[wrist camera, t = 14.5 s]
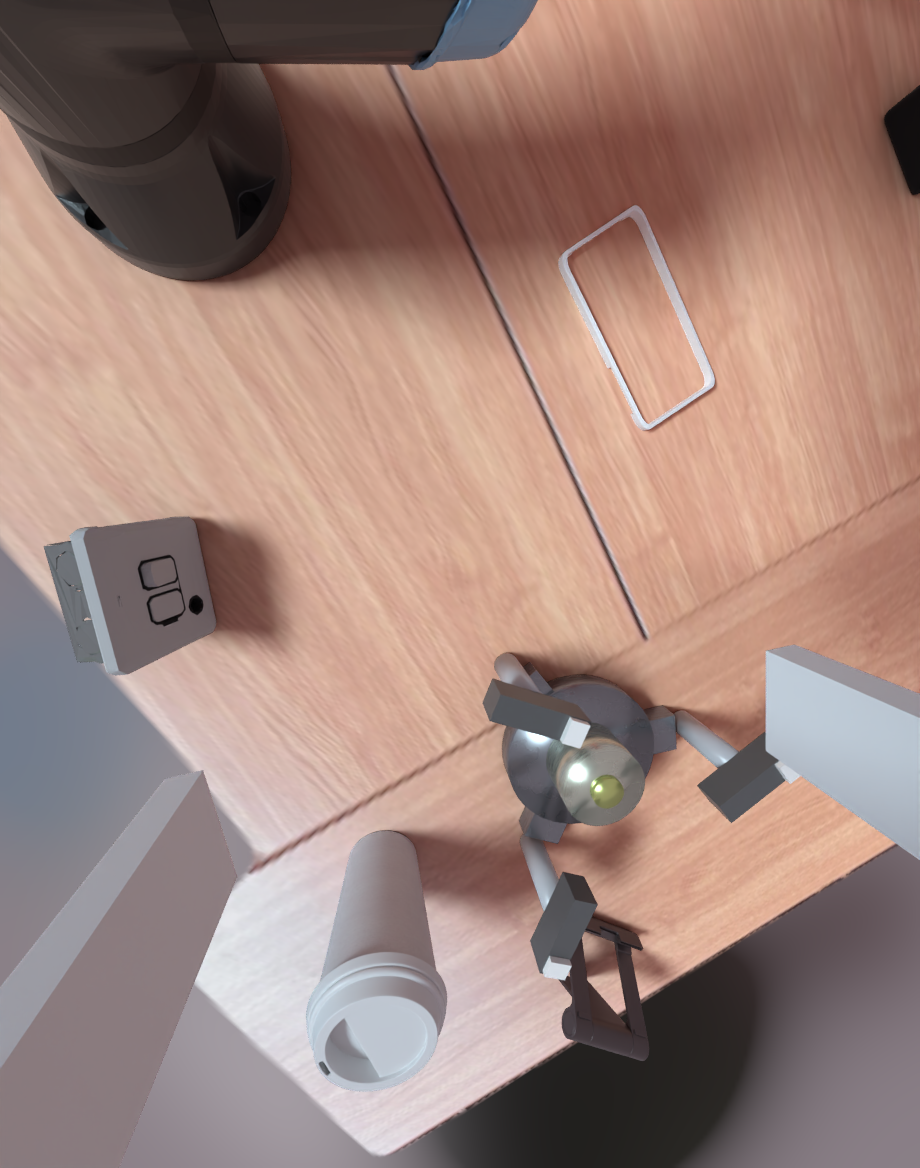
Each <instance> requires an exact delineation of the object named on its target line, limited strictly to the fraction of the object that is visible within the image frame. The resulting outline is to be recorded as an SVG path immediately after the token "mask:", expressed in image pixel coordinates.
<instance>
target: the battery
mask: <svg viewBox="0 0 920 1168" xmlns="http://www.w3.org/2000/svg"><path fill="white" fill-rule="evenodd" d="M884 120H885V124H886V127H887V130H888V132H889V135H890V138H891V140H892V143H893V146H894V148H895V151H896V154H897V156H898V159H899V162H900V164H901V167H902V170H903V172H904V175H905V178H906V180H907V183H908V186H909V188H910V191H911V193H912V194H914V195H917V194H919V193H920V85H919V86H918V87H917V88H916V89H914V90H913V91H912V92H911V93H909V94H908V95H907V96H906V97H905V98H903V99H902V100H901V101H900V102H898V103H897V104H896V105H895V106H893V107H892V108H891V109H890V110H889V111H888V112H887V113H886V115H885V118H884Z"/></svg>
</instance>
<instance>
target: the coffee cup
mask: <svg viewBox="0 0 920 1168" xmlns="http://www.w3.org/2000/svg"><path fill="white" fill-rule="evenodd" d="M446 1006H447V991H446V987H445V984H444V982H443V980H442V978H441V976H440V975H439V973H438V972H437V971H436V966H435V960H434V955H433V949H432V943H431V937H430V931H429V926H428V920H427V914H426V908H425V902H424V896H423V890H422V884H421V878H420V872H419V866H418V860H417V854H416V850H415V847H414V845H413V843H412V842H411V841H410V840H409V839H408V838H407V837H406V836H404V835H402V834H400V833H398V832H394V831H378V832H374V833H371V834H369V835H367V836H365V837H363V838H362V839H360V840H359V841H358V842H357V843H356V844H355V846H354V847H353V849H352V850H351V853H350V856H349V860H348V864H347V868H346V873H345V877H344V881H343V886H342V890H341V894H340V899H339V903H338V907H337V912H336V916H335V920H334V925H333V929H332V933H331V937H330V942H329V946H328V950H327V954H326V959H325V963H324V967H323V971H322V975H321V980H320V983H319V984H318V985H317V986H316V988H315V989H314V991H313V993H312V995H311V997H310V999H309V1002H308V1005H307V1011H306V1022H307V1033H308V1038H309V1042H310V1045H311V1048H312V1050H313V1052H314V1059H315V1063H316V1065H317V1067H318V1069H319V1071H320V1072H321V1074H322V1075H323V1076H324V1077H325V1078H326V1079H327V1080H329V1081H330V1082H331V1083H333V1084H335V1085H337V1086H339V1087H341V1088H344V1089H348V1090H353V1091H377V1090H383V1089H387V1088H390V1087H393V1086H396V1085H398V1084H400V1083H402V1082H404V1081H406V1080H408V1079H410V1078H411V1077H413V1076H414V1075H415V1074H417V1073H418V1072H419V1071H420V1070H421V1069H422V1068H423V1067H424V1066H425V1065H426V1064H427V1062H428V1061H429V1060H430V1058H431V1057H432V1055H433V1053H434V1051H435V1048H436V1045H437V1040H438V1036H439V1034H440V1032H441V1029H442V1026H443V1022H444V1019H445V1014H446Z"/></svg>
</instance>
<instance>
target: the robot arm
mask: <svg viewBox="0 0 920 1168" xmlns="http://www.w3.org/2000/svg"><path fill="white" fill-rule="evenodd" d="M537 1H538V0H0V109H1V110H2V111H3V112H4V113H5V114H6V115H7V117H8V119H9V121H10V122H11V124H12V126H13V127H14V129H15V131H16V133H17V134H18V136H19V138H20V140H21V141H22V143H23V145H24V146H25V148H26V150H27V152H28V153H29V155H30V157H31V158H32V160H33V162H34V164H35V165H36V167H37V169H38V170H39V172H40V174H41V176H42V177H43V179H44V181H45V182H46V184H47V185H48V187H49V188H50V190H51V191H52V192H53V194H54V195H55V197H56V198H57V199H58V200H59V201H60V203H61V204H62V205H63V206H64V208H65V209H66V210H67V211H68V212H69V213H70V214H71V215H72V216H73V217H74V219H75V220H76V221H77V222H79V223H80V224H81V225H82V226H83V227H84V228H85V229H86V230H87V231H89V232H90V233H91V234H92V235H93V236H95V237H96V238H97V239H98V240H99V241H100V242H102V243H103V244H104V245H105V246H106V247H108V248H109V249H110V250H111V251H113V252H114V253H115V254H117V255H118V256H120V257H121V258H123V259H124V260H126V261H128V262H130V263H131V264H133V265H135V266H137V267H139V268H141V269H144V270H146V271H149V272H151V273H154V274H157V275H160V276H164V277H168V278H174V279H181V280H205V279H212V278H216V277H220V276H223V275H227V274H229V273H232V272H234V271H236V270H238V269H240V268H242V267H243V266H245V265H246V264H248V263H249V262H251V261H252V260H253V259H255V258H256V257H257V256H258V255H259V254H260V253H261V252H262V251H263V250H264V249H265V248H266V247H267V245H268V244H269V243H270V241H271V240H272V238H273V237H274V235H275V234H276V232H277V230H278V228H279V226H280V224H281V222H282V219H283V217H284V214H285V211H286V207H287V203H288V198H289V193H290V184H291V163H290V153H289V147H288V142H287V138H286V134H285V130H284V127H283V124H282V120H281V117H280V114H279V111H278V108H277V104H276V101H275V99H274V96H273V93H272V91H271V88H270V86H269V84H268V82H267V80H266V78H265V76H264V74H263V72H262V70H261V68H260V66H259V64H386V65H409V67H410V68H411V69H412V70H424V69H427V68H429V67H431V66H432V65H433V64H435V63H436V62H444V61H457V60H471V59H482V58H487V57H490V56H493V55H495V54H497V53H498V52H500V51H501V50H503V49H504V48H505V47H506V46H507V45H508V44H509V43H510V42H511V40H512V39H513V38H514V37H515V36H516V34H517V33H518V31H519V29H520V28H521V27H522V26H523V25H524V24H525V22H526V21H527V19H528V18H529V16H530V14H531V12H532V11H533V9H534V7H535V5H536V3H537ZM766 751H767V752H768V753H769V754H771V755H772V756H774V757H775V758H776V759H778V760H779V761H781V762H782V763H784V764H785V765H786V766H788V767H789V768H791V769H792V770H793V771H795V772H796V773H798V774H799V775H800V776H802V777H803V778H805V779H806V780H807V781H809V782H810V783H812V784H813V785H815V786H816V787H817V788H819V789H820V790H822V791H823V792H824V793H826V794H827V795H829V796H830V797H831V798H833V799H834V800H836V801H837V802H838V803H840V804H841V805H843V806H844V807H846V808H847V809H848V810H850V811H851V812H853V813H854V814H855V815H857V816H858V817H860V818H861V819H862V820H864V821H865V822H867V823H868V824H870V825H871V826H872V827H874V828H875V829H877V830H878V831H879V832H881V833H882V834H884V835H885V836H886V837H888V838H889V839H891V840H892V841H893V842H895V843H896V844H898V845H899V846H901V847H902V848H903V849H905V850H906V851H908V852H909V853H910V854H912V855H913V856H915V857H916V858H917V859H919V860H920V694H919V693H916V692H914V691H911V690H909V689H906V688H904V687H901V686H899V685H896V684H894V683H891V682H888V681H886V680H883V679H881V678H878V677H876V676H873V675H871V674H868V673H866V672H863V671H860V670H858V669H855V668H853V667H850V666H848V665H845V664H843V663H840V662H837V661H835V660H832V659H830V658H827V657H825V656H822V655H820V654H817V653H815V652H812V651H809V650H807V649H804V648H802V647H799V646H797V645H790V646H786V647H781V648H776V649H772V650H767V651H766ZM236 878H237V874H236V871H235V868H234V865H233V862H232V859H231V856H230V852H229V849H228V846H227V843H226V840H225V837H224V834H223V831H222V828H221V825H220V821H219V819H218V815H217V812H216V809H215V806H214V803H213V800H212V797H211V793H210V790H209V787H208V784H207V781H206V778H205V775H204V772H203V770H202V771H197V772H193V773H188V774H183V775H179V776H174V777H169V778H165V779H164V781H163V782H162V783H161V784H160V786H159V787H158V788H157V789H156V791H155V792H154V793H153V795H152V796H151V797H150V798H149V800H148V801H147V802H146V803H145V805H144V806H143V807H142V808H141V810H140V811H139V812H138V813H137V815H136V816H135V817H134V818H133V820H132V821H131V822H130V824H129V825H128V826H127V827H126V829H125V830H124V831H123V832H122V834H121V835H120V836H119V838H118V839H117V840H116V841H115V843H114V844H113V845H112V846H111V848H110V849H109V850H108V851H107V853H106V854H105V855H104V857H103V858H102V859H101V860H100V862H99V863H98V864H97V865H96V867H95V868H94V869H93V871H92V872H91V873H90V874H89V876H88V877H87V878H86V879H85V881H84V882H83V883H82V884H81V886H80V887H79V888H78V889H77V891H76V892H75V893H74V894H73V896H72V897H71V898H70V900H69V901H68V902H67V903H66V905H65V906H64V907H63V909H62V910H61V911H60V912H59V913H58V915H57V916H56V917H55V918H54V920H53V921H52V922H51V924H50V925H49V926H48V927H47V929H46V930H45V931H44V932H43V934H42V935H41V936H40V938H39V939H38V940H37V941H36V943H35V944H34V945H33V946H32V948H31V949H30V950H29V951H28V953H27V954H26V955H25V957H24V958H23V959H22V960H21V962H20V963H19V964H18V965H17V967H16V968H15V969H14V970H13V972H12V973H11V974H10V975H9V977H8V978H7V979H6V980H5V982H4V983H3V984H2V986H1V987H0V1168H119V1167H120V1164H121V1162H122V1159H123V1156H124V1154H125V1152H126V1149H127V1147H128V1144H129V1142H130V1140H131V1137H132V1135H133V1132H134V1130H135V1127H136V1125H137V1122H138V1120H139V1117H140V1115H141V1112H142V1110H143V1108H144V1105H145V1103H146V1100H147V1098H148V1095H149V1093H150V1090H151V1088H152V1085H153V1083H154V1080H155V1078H156V1075H157V1073H158V1070H159V1068H160V1065H161V1063H162V1061H163V1058H164V1056H165V1053H166V1051H167V1048H168V1046H169V1043H170V1041H171V1038H172V1036H173V1033H174V1031H175V1028H176V1026H177V1024H178V1021H179V1019H180V1016H181V1014H182V1011H183V1009H184V1006H185V1004H186V1001H187V999H188V997H189V994H190V991H191V989H192V986H193V984H194V982H195V979H196V977H197V974H198V972H199V969H200V967H201V965H202V962H203V960H204V957H205V955H206V952H207V950H208V947H209V945H210V942H211V940H212V937H213V935H214V932H215V930H216V928H217V925H218V923H219V920H220V918H221V915H222V913H223V910H224V908H225V905H226V903H227V900H228V898H229V895H230V893H231V891H232V888H233V886H234V883H235V881H236Z"/></svg>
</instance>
